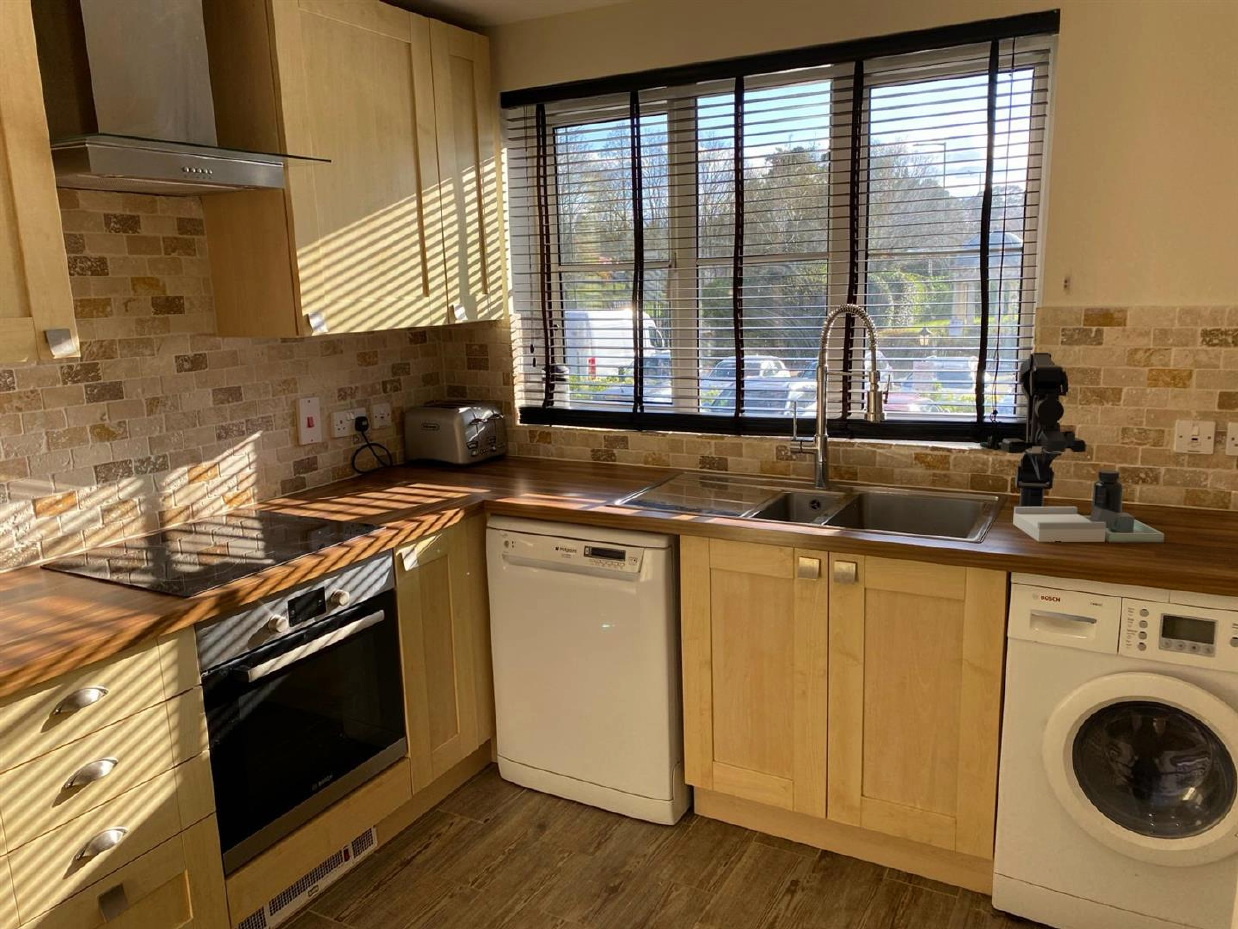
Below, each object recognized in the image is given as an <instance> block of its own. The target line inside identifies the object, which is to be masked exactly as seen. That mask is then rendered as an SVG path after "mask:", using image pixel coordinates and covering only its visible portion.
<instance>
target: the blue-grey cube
mask: <svg viewBox="0 0 1238 929" xmlns="http://www.w3.org/2000/svg"><path fill="white" fill-rule="evenodd" d="M1090 516H1091V517H1090V519H1089V520H1090V521H1092V522H1105V523H1106V528H1108V529H1111V530H1112V529H1113V526H1114V524H1115V521H1116V519H1117V516H1118V514H1117V513H1115V512H1113V511H1111V510H1107V509H1104V508H1100V507H1097V506H1094V509H1093V511H1092V510H1091V514H1090Z"/></svg>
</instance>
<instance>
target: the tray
mask: <svg viewBox="0 0 1238 929" xmlns="http://www.w3.org/2000/svg"><path fill="white" fill-rule="evenodd" d="M1082 516H1083V517H1084V518H1086V519H1088V520H1089V519H1090V517H1091V515H1082ZM1164 540H1165V533H1164V532H1161V531H1159V530H1157V529H1155V528H1153V527H1151V526H1149V525H1147V524H1145V523H1143V522H1141V521H1139V520H1137V519H1135V518H1134V529H1133V533H1116V532H1114V531H1112V530H1110V529H1108V528H1106V530H1105V541H1107V542H1109V543H1165V542H1164Z"/></svg>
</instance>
